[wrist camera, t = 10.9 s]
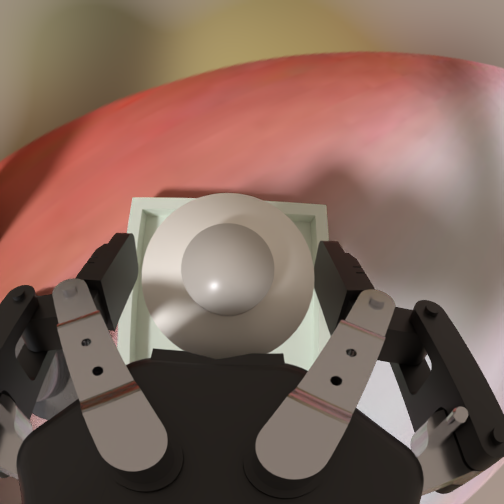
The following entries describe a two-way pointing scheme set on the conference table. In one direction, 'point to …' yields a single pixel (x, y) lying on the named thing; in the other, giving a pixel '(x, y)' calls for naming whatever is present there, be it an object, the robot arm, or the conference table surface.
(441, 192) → the conference table surface
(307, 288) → the white knobbed cylinder
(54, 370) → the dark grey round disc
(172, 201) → the tray
